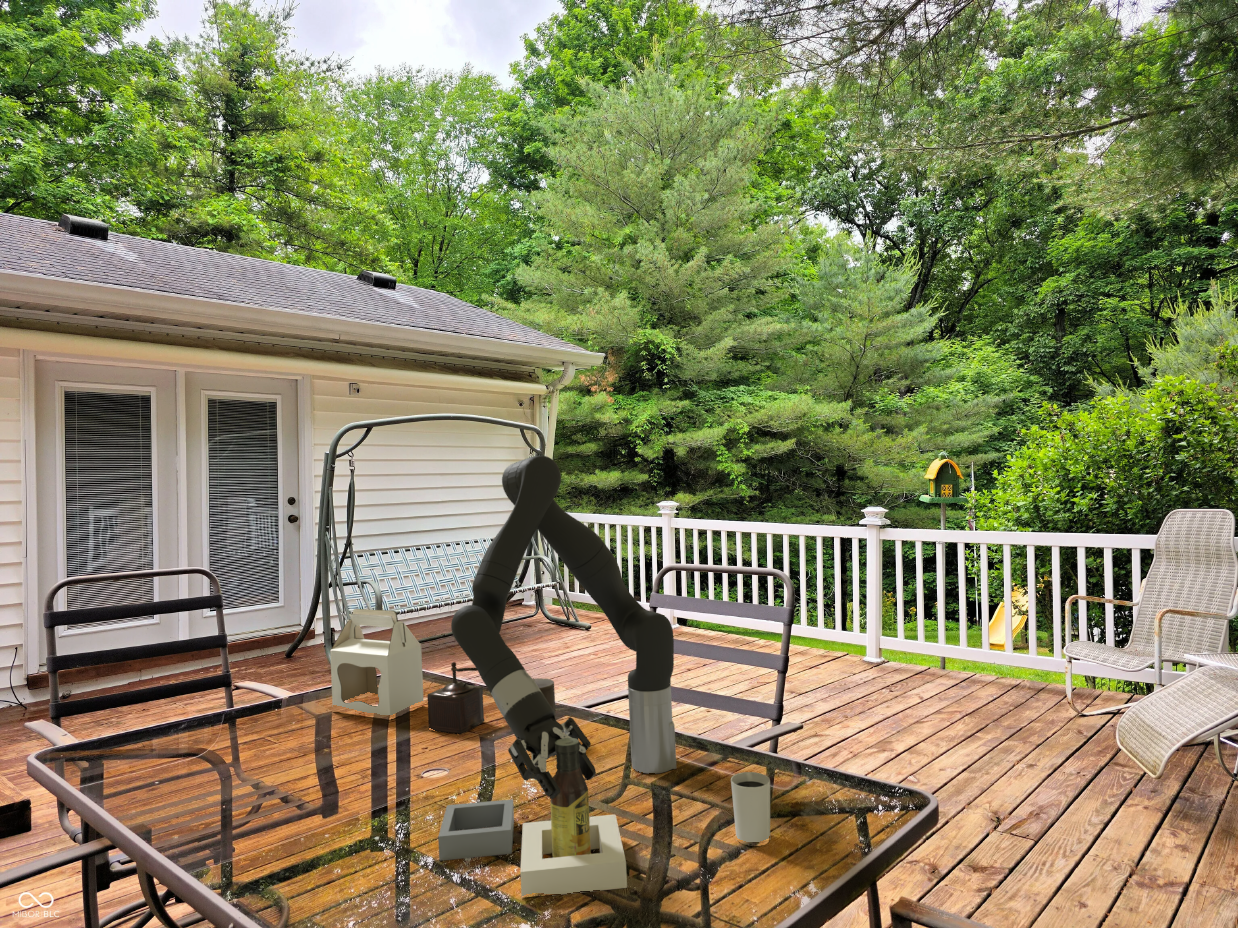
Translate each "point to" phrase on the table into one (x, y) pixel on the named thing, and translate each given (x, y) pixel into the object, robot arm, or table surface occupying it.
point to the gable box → (376, 664)
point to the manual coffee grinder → (456, 706)
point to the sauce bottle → (570, 803)
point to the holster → (477, 830)
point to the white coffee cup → (751, 806)
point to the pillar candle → (547, 691)
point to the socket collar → (572, 860)
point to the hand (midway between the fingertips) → (574, 786)
